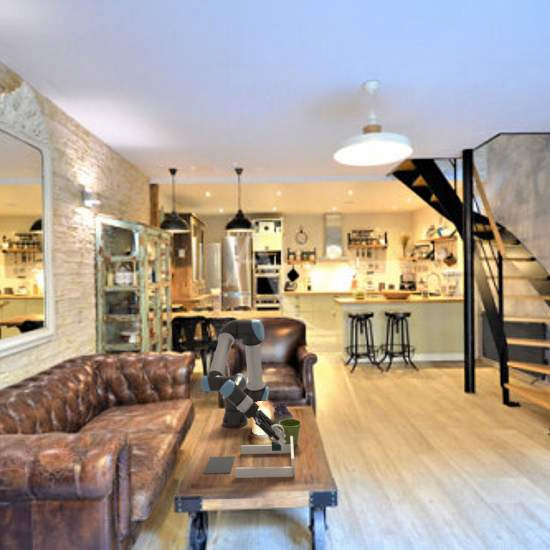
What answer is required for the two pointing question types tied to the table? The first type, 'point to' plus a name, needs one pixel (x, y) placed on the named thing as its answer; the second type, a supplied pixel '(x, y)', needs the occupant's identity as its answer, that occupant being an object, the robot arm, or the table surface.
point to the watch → (275, 444)
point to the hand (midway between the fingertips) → (283, 440)
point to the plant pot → (290, 430)
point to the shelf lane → (266, 471)
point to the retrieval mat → (219, 465)
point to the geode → (281, 413)
